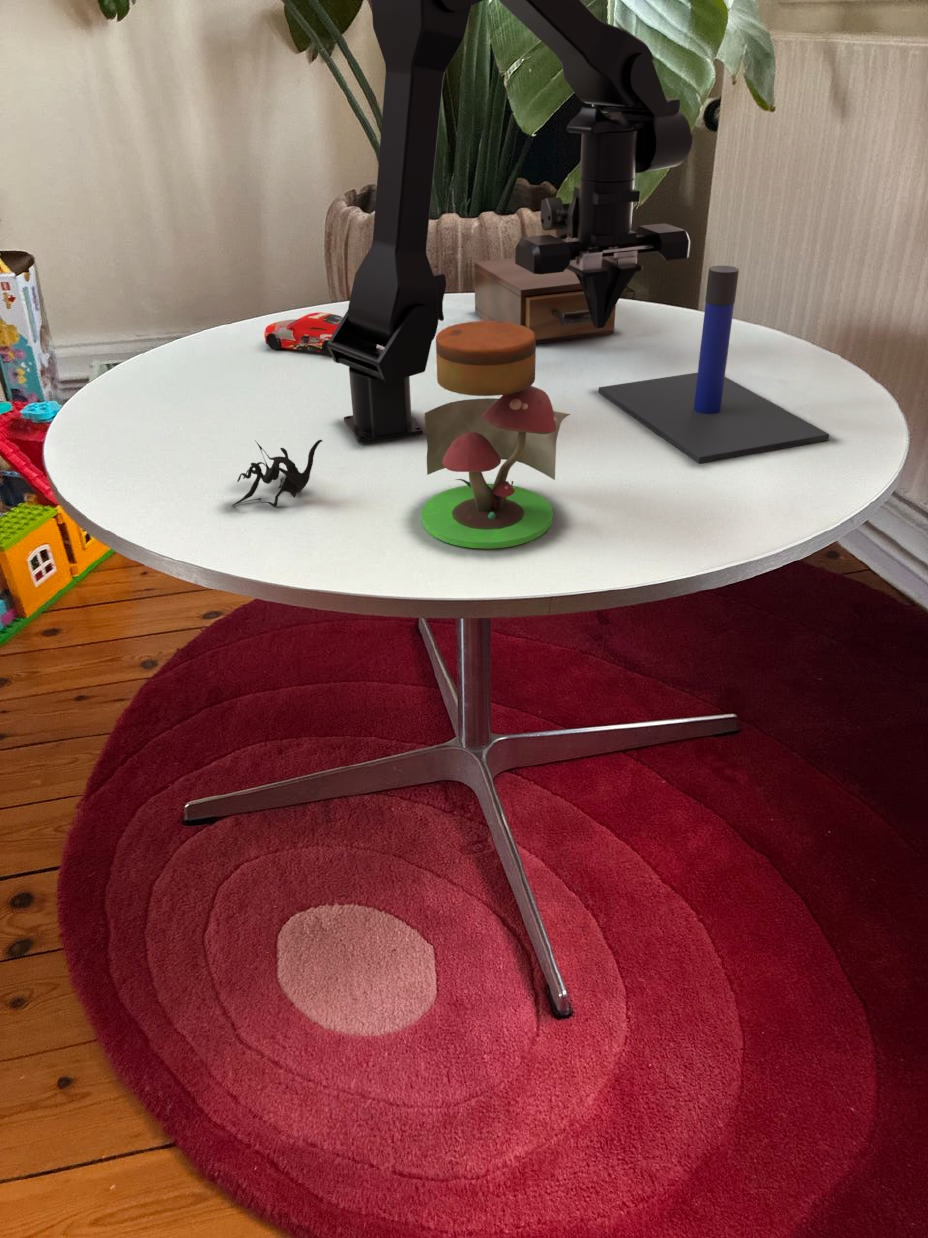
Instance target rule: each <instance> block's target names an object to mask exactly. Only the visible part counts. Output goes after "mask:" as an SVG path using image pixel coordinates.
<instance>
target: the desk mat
mask: <svg viewBox="0 0 928 1238" xmlns="http://www.w3.org/2000/svg"><path fill="white" fill-rule="evenodd" d="M697 375H698V372H691V373H685V374H679V375H672V376H666V377H658V378H652V379H646V380H638V381H632V382H624V383H619V384H611V385H605V386H599V387H598V391H597V392H598V393H599V394H600V395H601V396H603V397H604V398H606V400H608V401H610V402H611V403H613V404H614V405H615V406H617V407H619V409H621V410H622V411H624V412H625V413H626V414H628V415H630V416H631V417H632V418H634V419H635V420H637V421H638V422H640V424H642V425H644V426H645V427H647V428H648V429H650V430H651V431H653V432H654V434H657V435H658V436H659V437H661V438H662V439H664V440H665V441H666V442H668V443H669V444H670V445H672V446H674V447H675V448H677V450H680V451H681V452H682V453H683V454H685V455H687V457H690V459H692V460H694V461H695V462H696V463H698V464H701V463H707V462H712V461H718V460H724V459H729V458H735V457H740V456H741V457H742V456H745V455H751V454H757V453H758V454H759V453H763V452H769V451H773V450H779V449H785V448H790V447H795V446H801V445H806V444H813V443H818V442H824V441H829V439H830V433H828V432H827V431H825V430H823V429H821V428H819V427H818V426H816V425H814V424H812V423H810V422H808V421H806V420H805V419H803V418H801V417H799V416H798V415H795V414H794V413H792V412H790V411H788V410H786V409H784V408H783V407H781V406H779V405H777V404H775V403H774V402H772V401H770V400H768V399H766V398H765V397H763V396H761V395H759V394H758V393H755V392H754V391H752V390H750V389H748V388H747V387H745V386H742V385H741V384H739V383H737V382H735V381H733V380H732V379H730V378H728V377H726V376H725V378H724V386H723V394H722V401H721V409H720V411H719V412H717V413H711V414H707V413H700V412H697V411H696V410H694V401H695V393H696V384H697Z"/></svg>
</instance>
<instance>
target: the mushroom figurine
mask: <svg viewBox="0 0 928 1238" xmlns="http://www.w3.org/2000/svg"><path fill="white" fill-rule="evenodd" d="M536 350H537V344H536V336H535V334H534V332H533V331H532V330H531V329H529V328H527V327H525V326H522V325H519V324H515V323H510V322H501V321H485V320H477V321H475V320H474V321H467V322H460V323H457V324H454V325H449V326H447V327H445V328H443V329H441V330H440V331H439V332H437V333H436V335H435V351H436V352H435V353H436V356H435V358H436V381H437V384H438V385H439V386H440V387H441V388H443V389H444V390H447V391H449V392H451V393H455V394H458V395H465V396H474V397H475V396H476V397H491V398H471V399H461V400H455V401H451V402H448V403H444V404H442V405H439V406H437V407H434V408H432V409H430V410H428V411H426V412H424V429H425V430H424V431H425V438H426V445H427V446H426V447H427V448H426V450H427V451H426V475H427V476H428V475H431V474H433V473H435V472H438V471H441V470H443V469H446V470H447V471H451V472H454V473H455V472H456V473H468V480H469V481H467V480H466V479H463V478H457V479H455V481H461V482H463V483H464V484H466V485H461V486H456V487H453V488H452V487H451V488H450V489H446V490H444V491H441V492H439V493H437V494H436V495H434V496H432V497H431V498H429V499H428V500H427V501H426V502H425V504H424V505H423V507H422V510H421V523H422V526H423V527H424V529H425V530H426V531H427V533H429V534H430V535H431V536H433V537H434V538H435V539H438V540H440V541H442V542H444V543H447V544H450V545H452V546H453V545H454V546H457V547H462V548H471V549H503V548H509V547H514V546H518V545H519V546H520V545H522V544H525V543H526V544H527V543H528V542H530V541H533V540H536V539H537V538H539V537H540V536H542V535H543V534H545V533H546V532H547V531H548V530H549V528H550V527H551V525H552V522H553V512H554V511H553V507H552V505H551V504H550V502H549V501H547V499H546V498H544V496H542V495H540V494H538V493H537V492H534V491H532V490H530V489H527V488H524V487H520V486H515V485H514V481H513V480H511V483H510V482H509V481H508V480H507V479H508V475H509V472H510V469H511V468H512V467H513V466H514V464H516V462H518V463H521V464H524V465H526V466H529V467H530V468H532V469H534V470H536V471H538V472H540V473H541V474H543V475H545V476H546V477H548V478H550V479H551V480H554V481H556V463H557V462H556V461H557V441H558V435H559V431H560V429H561V428H560V427H561V424H562V422H563V421H564V420H565V419H566V418H567V417H569V416H570V415H571V413H567V412H561V411H555V410H554V408H553V405H552V401H551V399H550V396H549V395H548V394H547V393H546V391H545V390H543V389H541V388H539V387H536V386H532V385H533V384H534V383H535V382H536V359H537V358H536V354H537V351H536ZM495 396H499V398H494V397H495ZM492 397H493V398H492ZM502 460H504V463H502V464H501V462H502ZM499 465H501V466H500V468H499V470H498V472H497V475H496V477H495V479H494V481H493V483H487V481H486V479H485V477H484V475H483V472H489V471H492V470H495V469H496V468H498V467H499Z"/></svg>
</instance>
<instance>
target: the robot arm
mask: <svg viewBox="0 0 928 1238" xmlns="http://www.w3.org/2000/svg"><path fill="white" fill-rule="evenodd" d="M483 1H484V0H371V14H372V15H371V16H372V28H373V31H374V34H375V38H376V41H377V42H378V46H379V49H380V52H381V55H382V58H383V62H384V65H385V76H384V77H385V78H384V89H383V90H384V91H383V103H382V115H381V129H380V140H379V141H380V142H379V144H380V145H379V154H378V165H377V167H378V168H377V179H376V194H375V206H374V217H373V218H374V219H373V231H372V242H371V246H370V248H369V249H368V251H367V253H366V255H365V257H363V258H364V259H363V260H362V262H361V264H360V265H359V267H358V268H357V270H356V272H355V274H354V278H353V283H352V289H351V293H350V297H349V303H348V308H347V311H346V312H345V314H344V315H343V316H342V317H343V319H342V320H341V322H340V323H339V325H338V327H337V328H336V330H335V331H334V333H333V335H332V336H331V338H330V339H329V341H328V343H327V347H328V349H329V351H330V353H331V356H332V357H331V358H332V361H333V362H334V363H336V364H341V365H343V366H346V367H348V374H349V375H348V376H349V386H350V398H351V409H352V415H347V416H343V423H344V424H345V426H346V427H347V429H348V430H349V432H350V433H351V435H352V436H353V437H354V438H355V440H356V441H357V443H359V444H367V443H368V444H369V443H375V442H382V441H388V440H394V439H401V438H402V439H403V438H406V437H407V438H408V437H415V436H420V435H423V434H424V428H423V426H422V425H421V424H420V423H419V422H418V421H417V420H416V418H415V417H414V416H413V415H412V402H411V400H412V398H411V379H410V377H411V376H416V375H419V374H422V373H425V372H426V368H427V364H428V361H429V356H430V352H431V347H432V343H433V340H434V339H435V338H436V335H437V331H438V327H439V321H440V322H444V320H445V316H444V311H443V309H444V308H443V306H444V305H443V304H444V303H443V302H444V297H445V292H446V288H447V277H446V275H445V274H444V273H440V272H436V271H433V269H432V266H431V263H430V260H429V258H428V253H427V244H428V235H429V227H430V226H429V225H430V215H431V206H432V205H431V204H432V195H433V187H434V176H435V175H434V174H435V165H436V155H437V147H438V146H437V145H438V136H439V125H440V118H441V117H440V115H441V107H442V96H443V87H444V86H443V85H444V79H445V73H446V71H447V69H448V68H449V66H450V64H451V62H452V61H453V59H454V57H455V55H456V54H457V52H458V50H459V48H460V47H461V45H462V44H463V41H464V39H465V37H466V33H467V28H468V23H469V20H470V14H471V11H472V6H473V5H477V4H479V3H480V2H483ZM498 1H499V2H500V4H502V5H503V6H504V7H505V8H506V9H507V10H508V11H509V12H510V13H511V14H512V15H513V16H514V17H515V18H516V19H517V20H518V21H520V22H521V23H522V24H523V25H524V26H525V27H526V28H527V29H528V30H529V31H530V32H531V33H532V34H534V36H536V37H537V39H539V40H540V41H541V42H542V43H543V44H544V45H545V46H546V47H547V48H548V49H549V50H550V51H551V52H552V53H553V54H554V55H556V57H557V58H558V60H559V61H560V63H561V68H562V75H563V78H564V80H565V81H566V82H567V84H568V85H569V87H570V89H572V91H573V92H574V94H575V95H576V97H577V98H578V99H579V100H580V101H581V102H583V103H585V104H588V105H583V106H582V107H581V109H580V111H579V112H578V114H576V116H575V117H573V118H572V119H571V120H570V121H569V123H568V125H567V126H566V131H567V132H568V133H570V134H571V133H573V134H581V143H580V168H579V169H580V170H579V185H575V186H573V191H572V200H571V201H570V202H567V203H564V202H563V199H562V197H560V196H557V197H546V198H544V199H542V200H541V203H540V215H539V217H540V226H541V228H542V231H544V232H546V231H555V233H556V234H555V235H556V236H555V235H552V234H543V235H532V236H521V238H519V241H518V242H517V244H516V246H515V248H514V252H515V253H514V254H515V256H514V258H515V264H517V265H519V266H520V267H522V268H524V269H526V270H528V271H530V272H532V273H533V274H549V273H558V272H564V270H565V269H568V270H570V271H572V272H574V273H575V274H576V276H577V278H578V280H579V282H580V284H581V286H582V289H583V292H584V295H585V298H586V301H587V305H588V308H589V312H590V315H591V319H592V322H593V325H594V327H596V328H597V329H598V328H604V326H605V325H606V323H607V321H608V319H609V317H610V315H611V313H612V311H613V309H614V307H615V305H616V306H617V303H618V301H619V300H620V299H621V296H622V294H623V293H624V291H625V289H626V288H627V286H628V285H629V284H630V282H631V280H632V279H633V278H634V276H635V275H636V273H638V272H642V271H643V268H644V265H642V264H640V263H638V262H637V261H638V254H643V253H652V252H658V254H659V255H660V257H662V259H663V260H665V261H674V260H682V259H683V260H685V259H688V258H689V257H690V250H691V239H690V236H689V234H688V232H687V230H686V229H683V228H681V227H678V226H677V227H676V226H674V225H671V224H668V223H663V222H662V223H655V224H644V225H638V227H637V228H636V230H634V231H633V230H632V221H633V210H634V209H633V206H634V203H637V202H640V196H641V190H638V189H635V180H636V178H635V177H636V174H641V173H646V172H651V171H652V172H654V171H658V170H665V169H669V168H676V167H678V166H680V165H681V164H682V163H684V162H685V160H686V159H687V157H688V156H689V154H690V152H691V149H692V146H693V138H694V137H693V133H692V129H691V126H690V122H689V121H688V119H687V117H686V116H685V115H684V114H683V113H682V112H681V111H680V109H681V100H680V99H679V98H667V97H666V94H665V92H664V89H663V86H662V83H661V80H660V78H659V75H658V72H657V69H656V67H655V64H654V56H653V52H652V50H651V48H650V47H649V45H648V44H647V43H646V42H644V41H643V40H642V39H640V38H638V37H637V36H635V35H634V34H633V33H631V32H630V31H628V30H626V29H623V28H620V27H617V26H614V25H612V24H610V23H608V22H606V21H603V20H602V19H600V18H599V17H597V16H596V15H595V13H594V12H593V11H592V10H591V9H590V8H589V7H588V6H587V5H586V4H585V3H584V2H583V1H582V0H498ZM589 105H593V106H589ZM567 238H570V239H576V240H575V241H574V240H573V241H565V240H566V239H567ZM378 346H380V347H382V348H383V349H381V348H379V347H378Z"/></svg>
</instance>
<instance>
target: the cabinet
mask: <svg viewBox="0 0 928 1238" xmlns="http://www.w3.org/2000/svg"><path fill="white" fill-rule="evenodd" d="M473 264H474V266H473V267H474V314H476V315H477V316H478V317H479V318H481V319H483V321H501V322H510V323H515V324H519V325H522V326H525V311H526V297H527V296H533V295H541V294H550V293H558V292H567V291H575V290H583V289H582V286H581V284H580V282H579V280H578V278H577V276H576V274H575V273H574V272H572V271H570V270H568V269H565V270H564V272H558V273H549V274H533V273H532V272H530V271H528V270H526V269H524V268H522V267H520V266H519V265H517V264H515V257H509V258H500V259H489V260H482V261H474V263H473ZM614 331H615V328H614V329H613V330H606V331H598V332H591V333H583V334H576V335H568V336H560V337H553V338H545V339H538V340H536V345H537V344H544V343H545V344H546V343H552V342H559V341H560V342H561V341H567V340H568V341H569V340H574V339H582V338H589V337H591V338H592V337H597V336H605V335H612V334H614Z"/></svg>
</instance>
